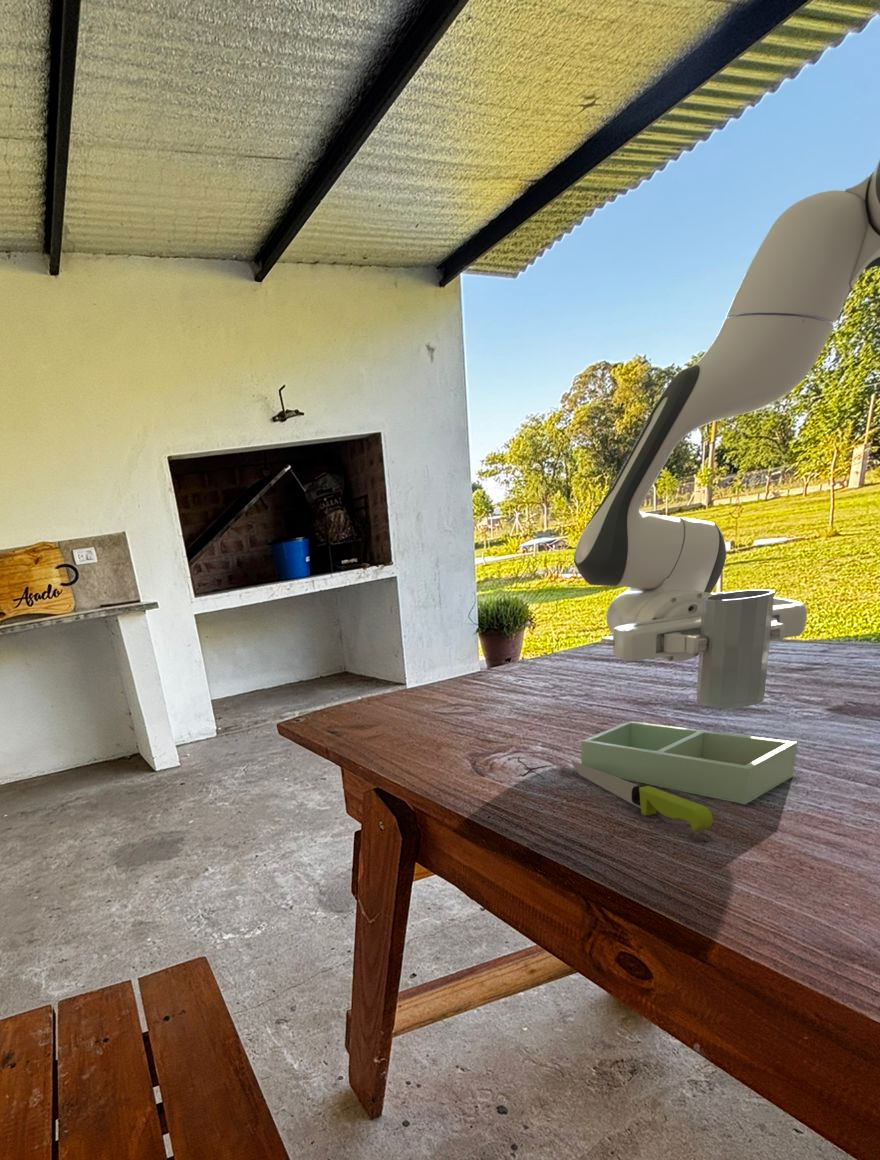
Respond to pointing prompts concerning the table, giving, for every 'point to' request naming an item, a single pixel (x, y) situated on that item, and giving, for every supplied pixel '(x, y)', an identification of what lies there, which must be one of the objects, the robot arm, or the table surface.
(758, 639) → the cutlery cup
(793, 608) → the robot arm
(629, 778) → the divided tray
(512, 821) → the table surface
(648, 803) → the kitchen knife
